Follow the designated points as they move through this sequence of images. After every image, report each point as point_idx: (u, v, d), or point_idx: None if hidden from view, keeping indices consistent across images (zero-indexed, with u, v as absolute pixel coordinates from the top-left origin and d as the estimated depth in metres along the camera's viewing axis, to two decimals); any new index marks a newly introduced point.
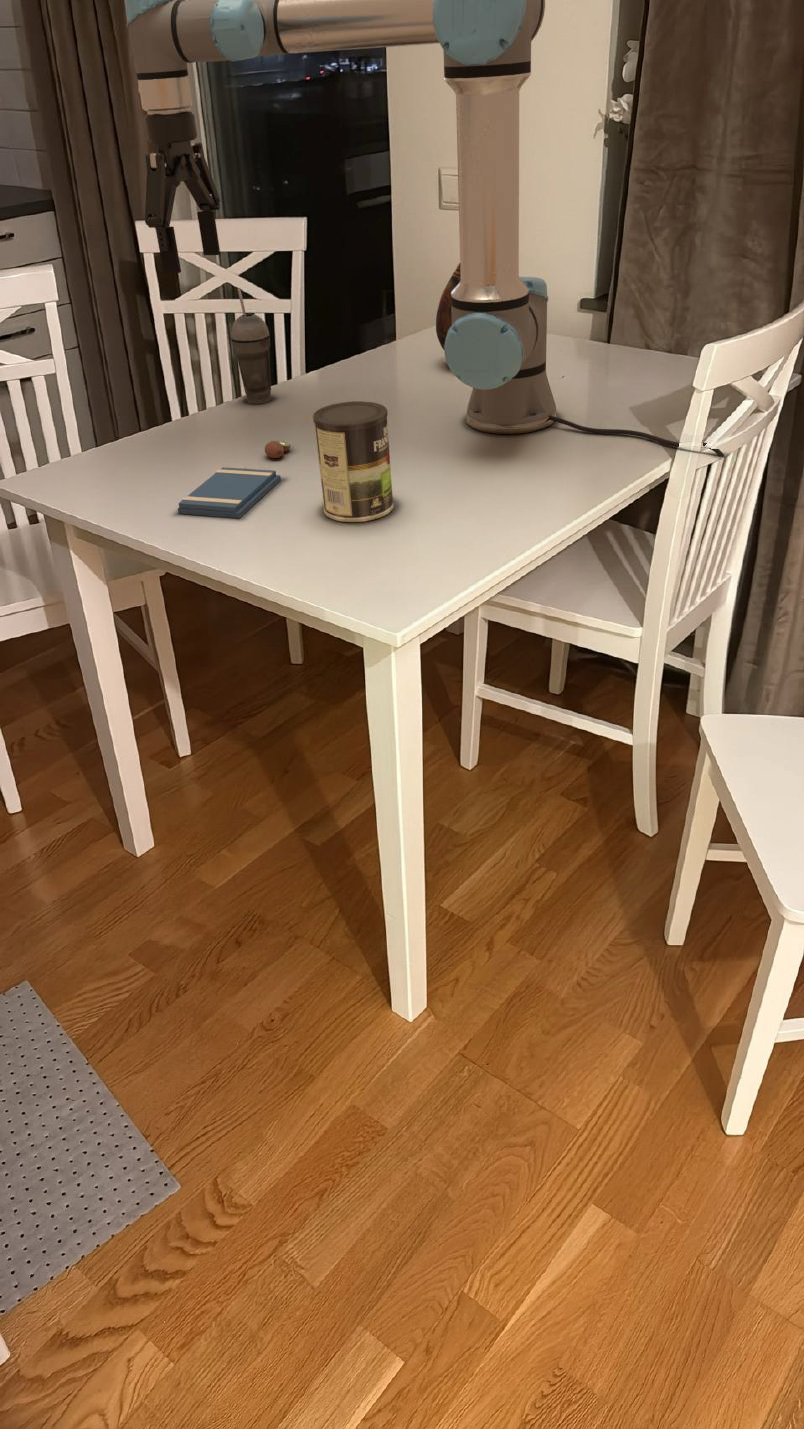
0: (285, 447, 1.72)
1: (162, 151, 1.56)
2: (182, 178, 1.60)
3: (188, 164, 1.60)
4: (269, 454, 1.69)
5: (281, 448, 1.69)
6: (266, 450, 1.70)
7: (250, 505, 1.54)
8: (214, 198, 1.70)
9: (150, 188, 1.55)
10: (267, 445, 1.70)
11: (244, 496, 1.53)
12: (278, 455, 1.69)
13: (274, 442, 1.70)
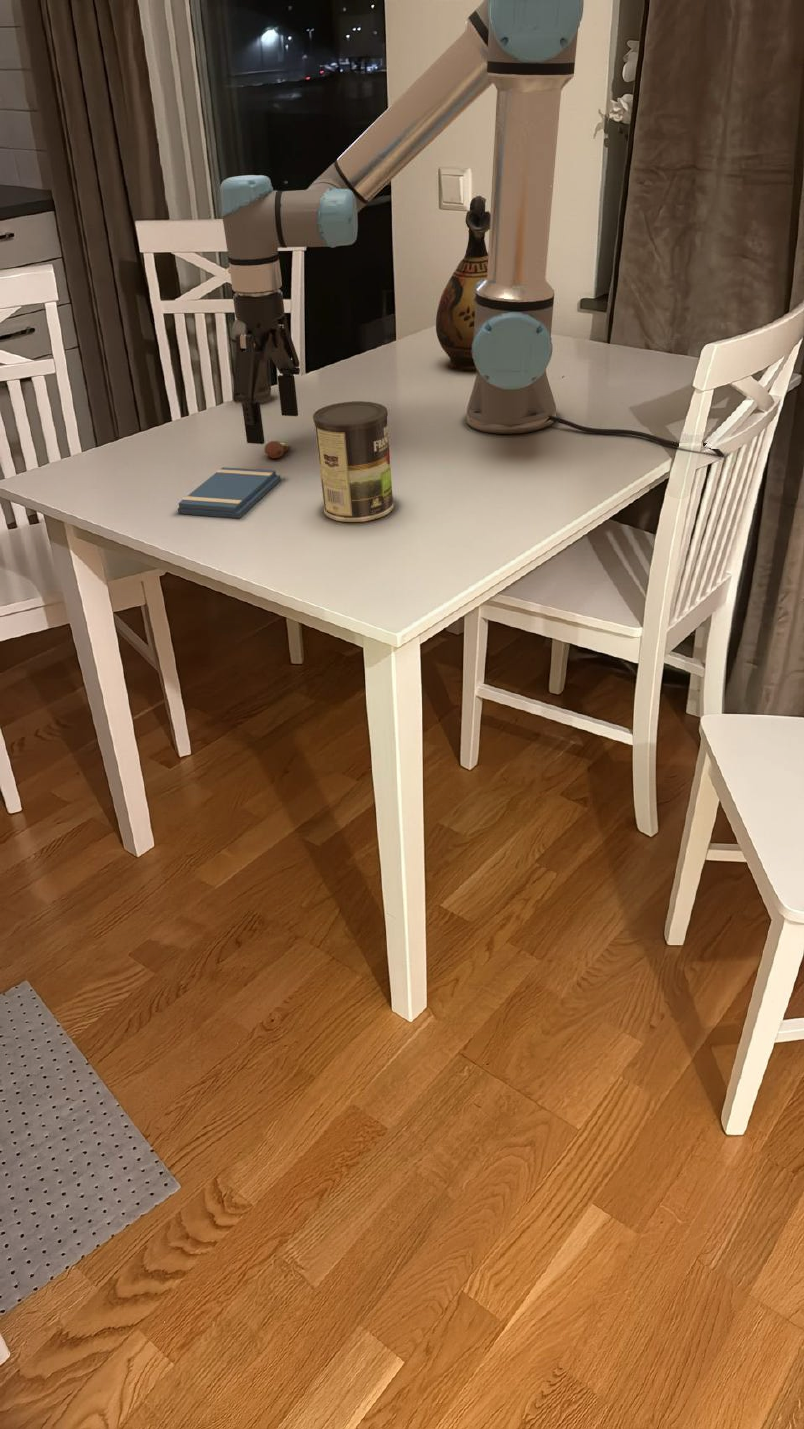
0: (285, 447, 1.72)
1: (251, 330, 1.58)
2: (268, 352, 1.62)
3: (274, 338, 1.62)
4: (269, 454, 1.70)
5: (281, 448, 1.69)
6: (266, 450, 1.70)
7: (250, 505, 1.54)
8: (294, 362, 1.72)
9: (239, 367, 1.57)
10: (267, 445, 1.70)
11: (244, 496, 1.53)
12: (278, 455, 1.69)
13: (274, 442, 1.70)
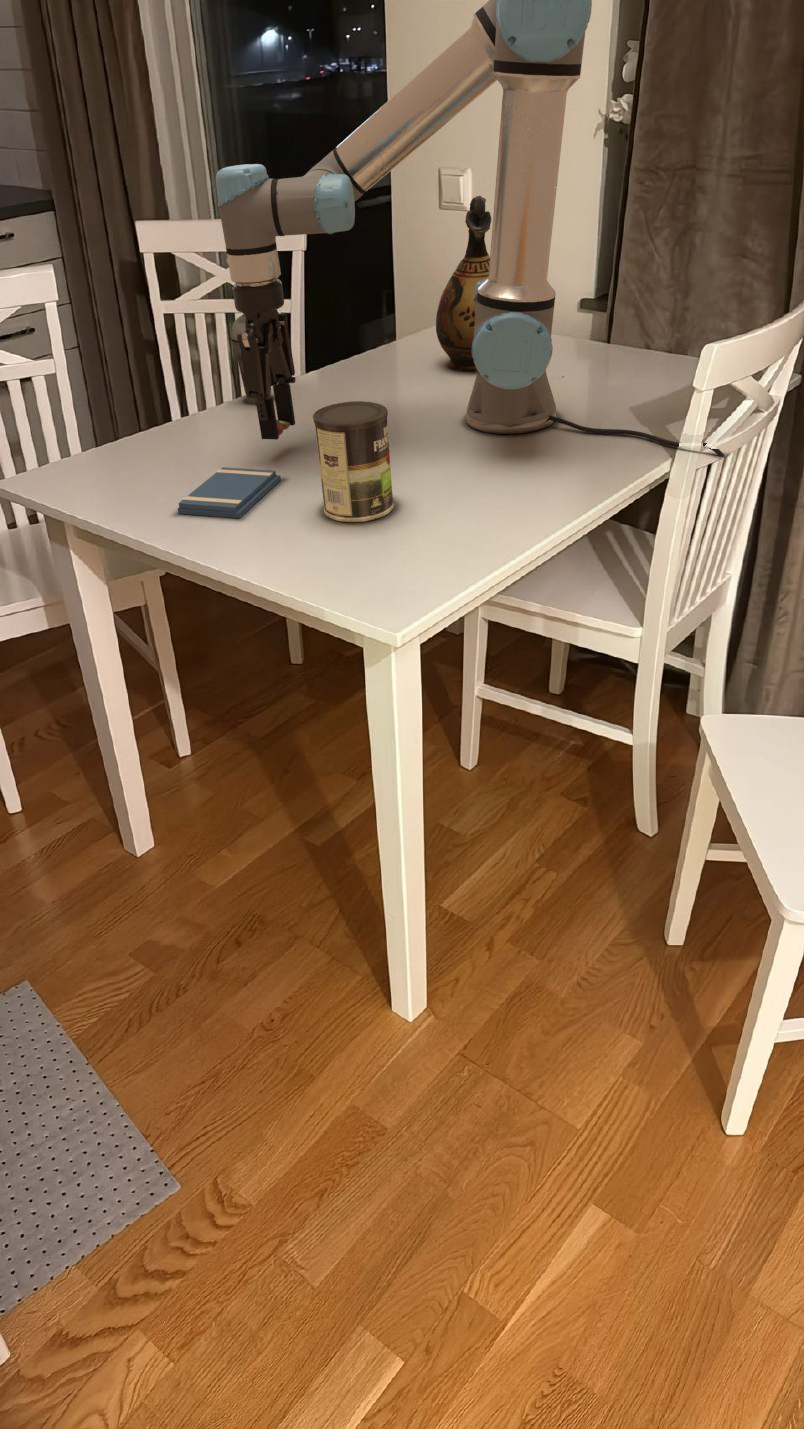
0: (285, 425, 1.69)
1: (251, 320, 1.57)
2: None
3: None
4: None
5: (280, 426, 1.67)
6: None
7: (250, 505, 1.54)
8: (290, 369, 1.69)
9: (247, 366, 1.58)
10: None
11: (244, 496, 1.53)
12: None
13: None
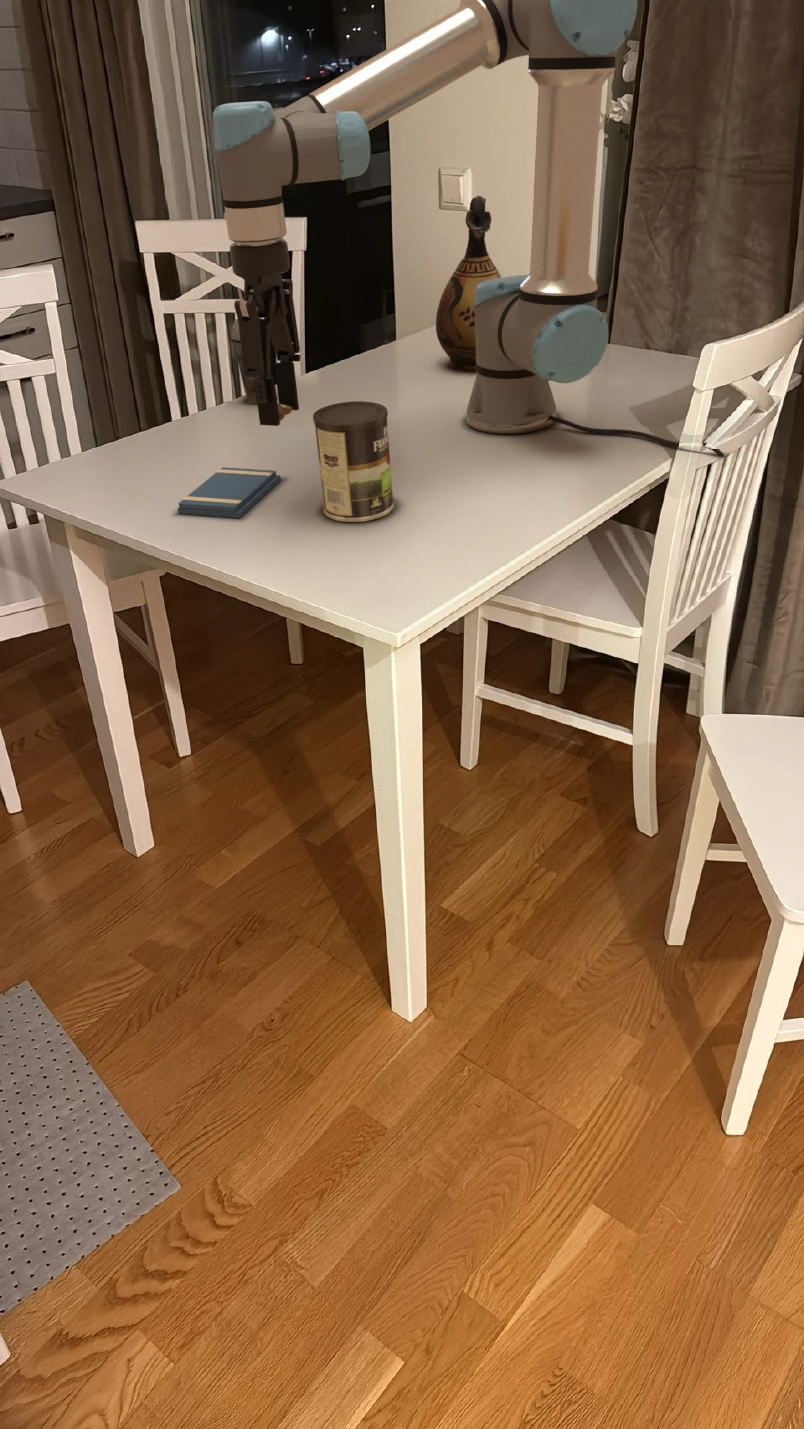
0: (286, 410, 1.48)
1: (251, 286, 1.35)
2: None
3: None
4: None
5: (282, 411, 1.45)
6: None
7: (250, 505, 1.54)
8: (294, 345, 1.47)
9: (245, 340, 1.36)
10: None
11: (244, 496, 1.53)
12: None
13: None
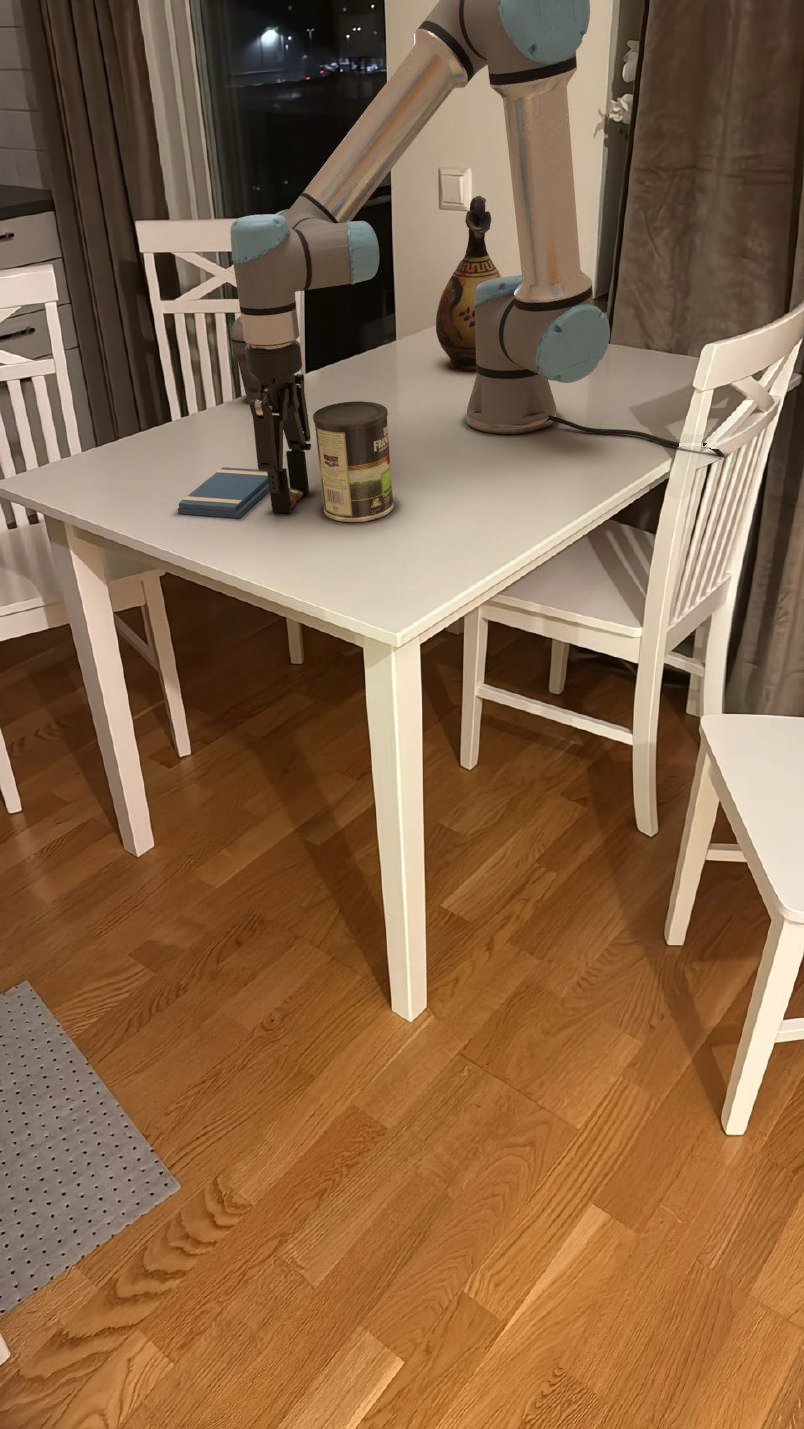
0: (297, 496, 1.54)
1: (265, 386, 1.41)
2: None
3: None
4: None
5: (293, 498, 1.51)
6: None
7: (250, 505, 1.54)
8: (305, 434, 1.53)
9: (259, 436, 1.42)
10: None
11: (244, 496, 1.53)
12: None
13: None
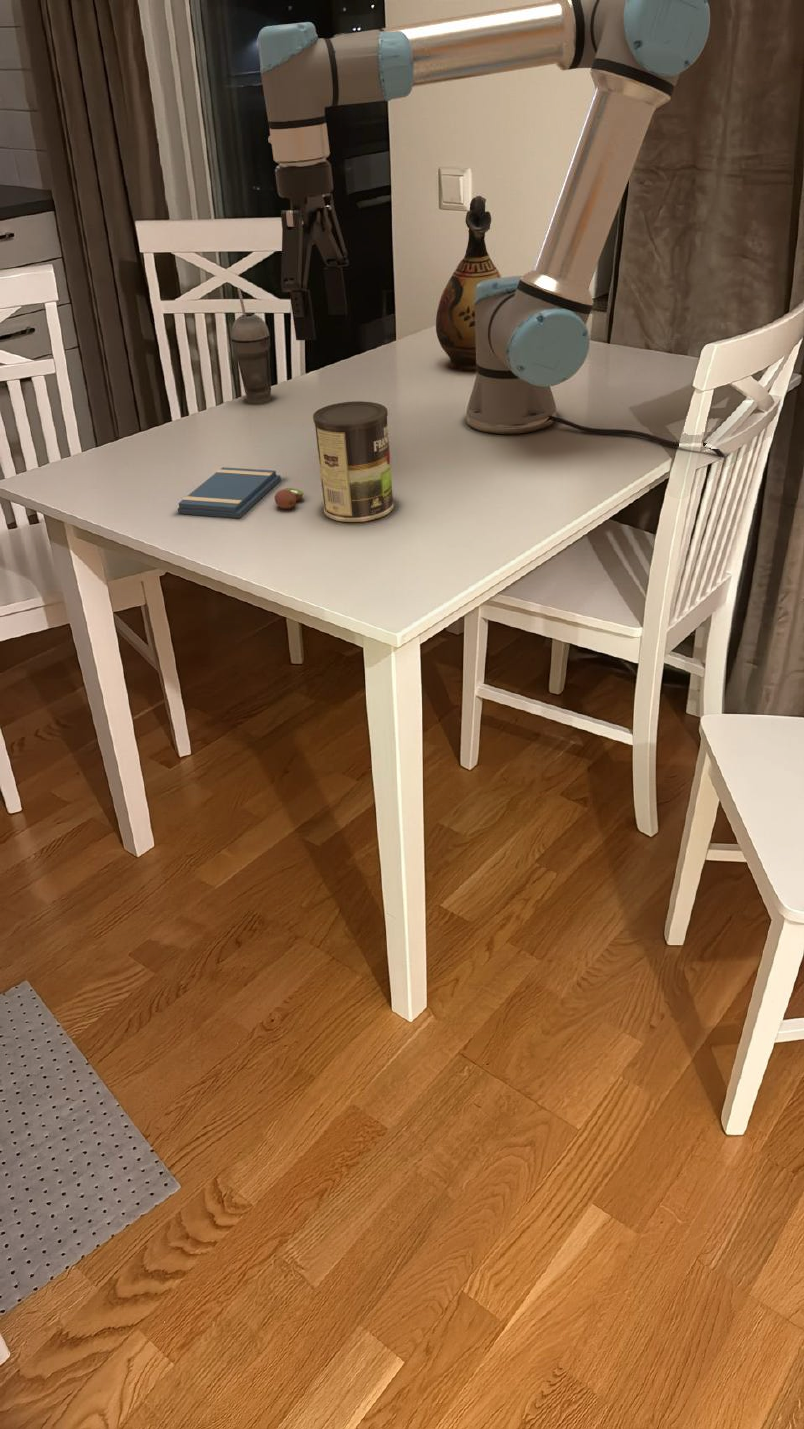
0: (297, 496, 1.54)
1: (297, 207, 1.39)
2: None
3: (321, 219, 1.44)
4: (280, 504, 1.52)
5: (293, 498, 1.51)
6: (276, 500, 1.52)
7: (250, 505, 1.54)
8: (342, 252, 1.53)
9: (286, 249, 1.38)
10: (277, 494, 1.52)
11: (244, 496, 1.53)
12: (290, 505, 1.51)
13: (285, 491, 1.52)
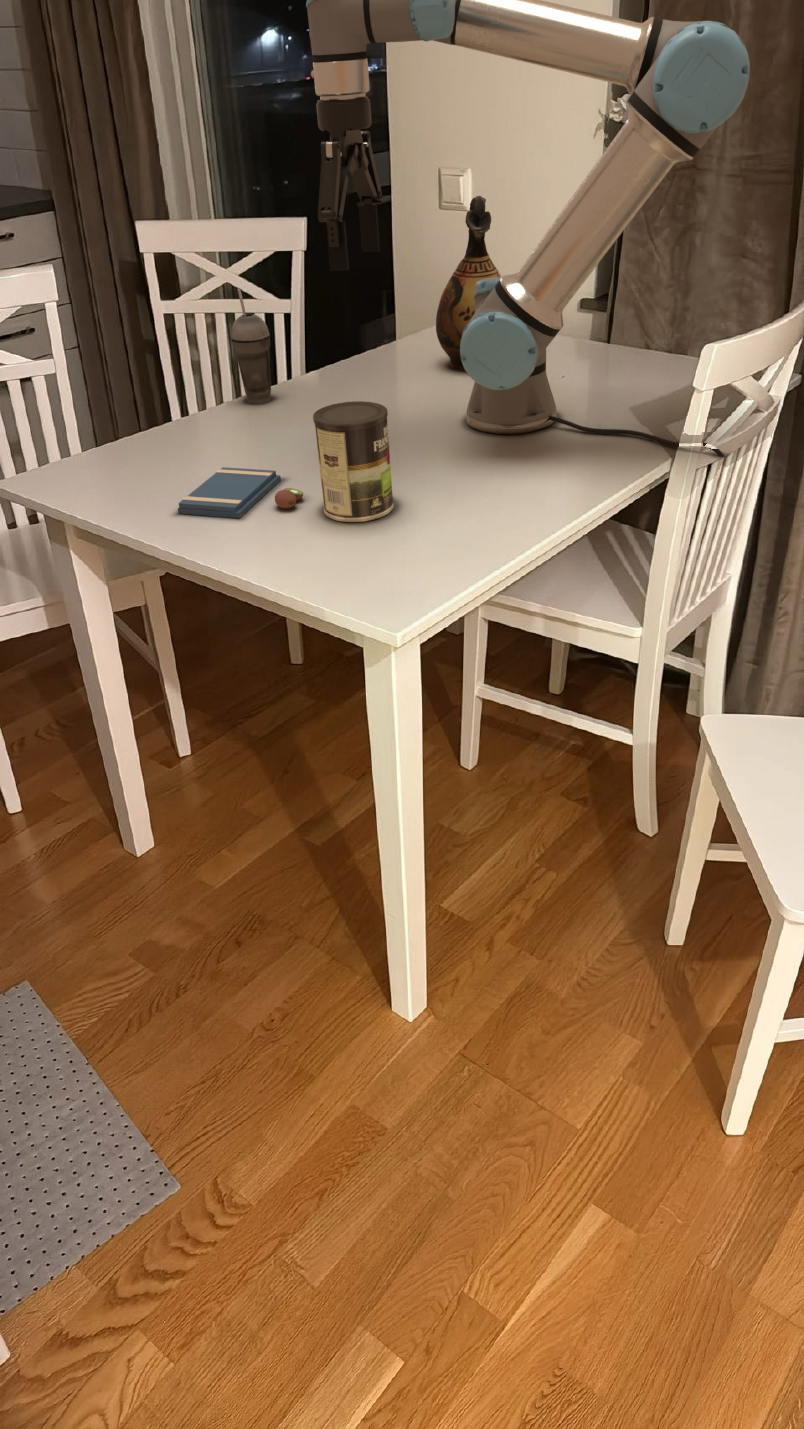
0: (297, 496, 1.54)
1: (336, 139, 1.45)
2: None
3: (359, 154, 1.49)
4: (280, 504, 1.52)
5: (293, 498, 1.51)
6: (276, 500, 1.52)
7: (250, 505, 1.54)
8: (376, 191, 1.59)
9: (324, 179, 1.44)
10: (277, 494, 1.52)
11: (244, 496, 1.53)
12: (290, 505, 1.51)
13: (285, 491, 1.52)
